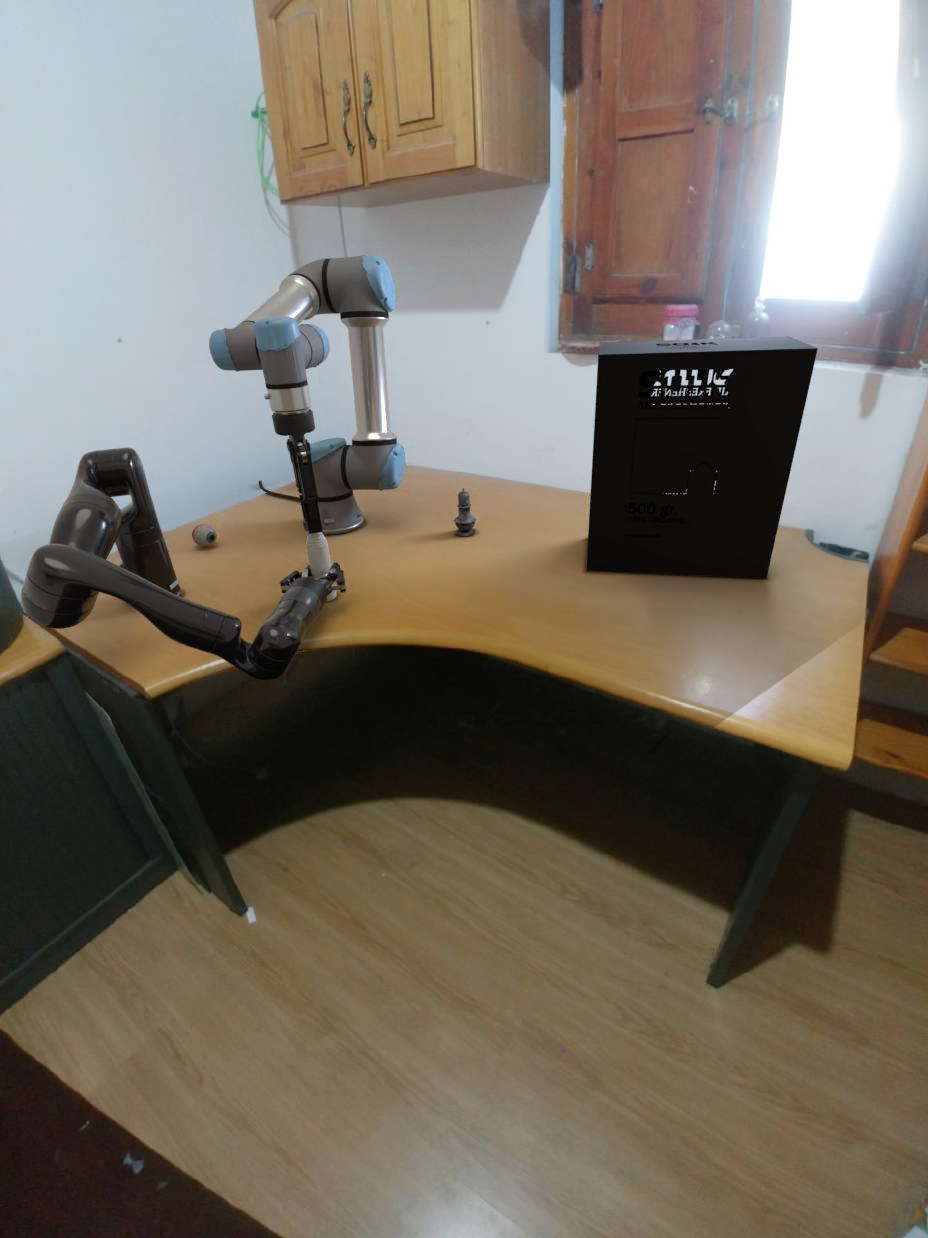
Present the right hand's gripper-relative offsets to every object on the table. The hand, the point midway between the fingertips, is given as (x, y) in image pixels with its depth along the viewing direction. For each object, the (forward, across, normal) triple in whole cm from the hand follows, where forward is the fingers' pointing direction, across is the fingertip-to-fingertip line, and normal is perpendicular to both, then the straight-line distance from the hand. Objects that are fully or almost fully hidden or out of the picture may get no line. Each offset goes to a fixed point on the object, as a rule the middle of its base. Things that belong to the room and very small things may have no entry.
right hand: (313, 527), depth 124 cm
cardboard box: (+16, +18, +77) cm, 81 cm away
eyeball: (+16, -44, -24) cm, 52 cm away
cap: (-2, 0, 0) cm, 2 cm away
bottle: (+16, 0, 0) cm, 16 cm away
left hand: (+10, -2, +1) cm, 10 cm away
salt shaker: (+16, -19, +41) cm, 48 cm away
